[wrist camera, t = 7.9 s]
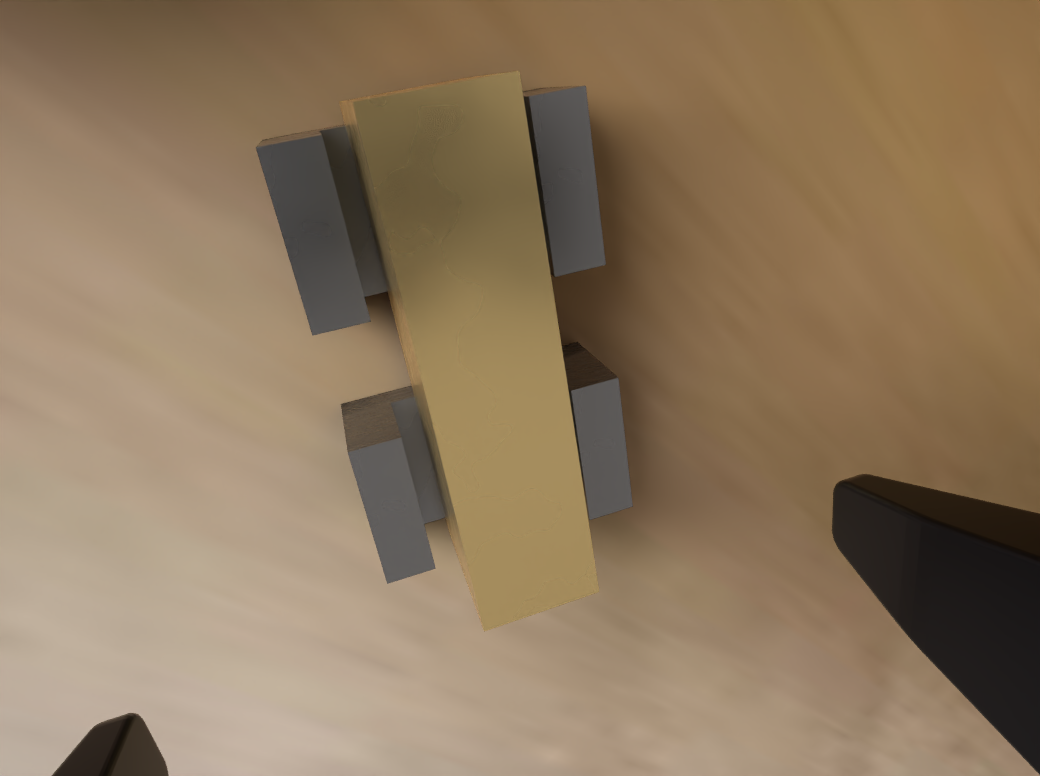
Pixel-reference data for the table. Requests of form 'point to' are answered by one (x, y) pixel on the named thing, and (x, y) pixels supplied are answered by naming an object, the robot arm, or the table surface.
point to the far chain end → (410, 477)
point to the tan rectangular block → (479, 332)
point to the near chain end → (346, 226)
